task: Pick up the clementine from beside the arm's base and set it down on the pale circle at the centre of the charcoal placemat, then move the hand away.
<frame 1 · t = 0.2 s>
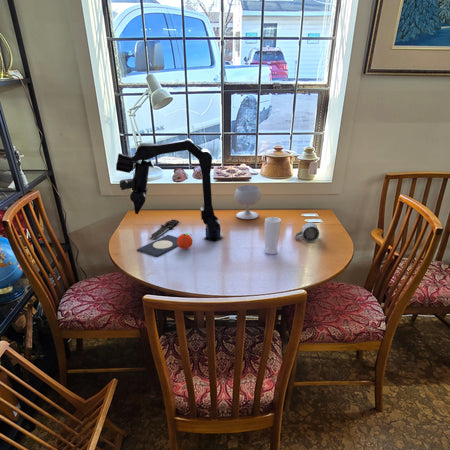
hand: (137, 210, 165), 15 cm above the table, tool pointing down, fingers open, 9 cm apart
clementine: (186, 248, 167), on the table
placemat: (162, 245, 169), on the table
drinking glass: (270, 252, 163), on the table
ceramic mug: (306, 239, 174), on the table
chalice: (247, 216, 201), on the table
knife: (164, 230, 184), on the table
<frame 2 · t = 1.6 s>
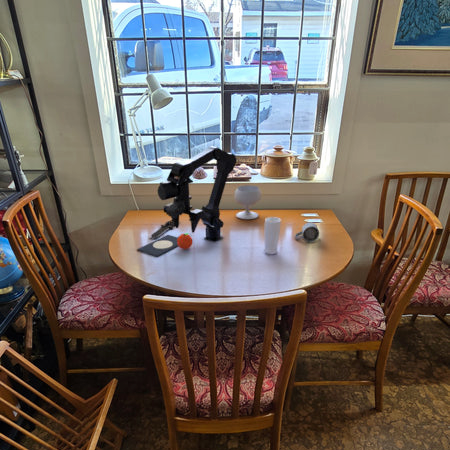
hand: (185, 230, 162), 9 cm above the table, tool pointing down, fingers open, 9 cm apart
nothing on the table moved.
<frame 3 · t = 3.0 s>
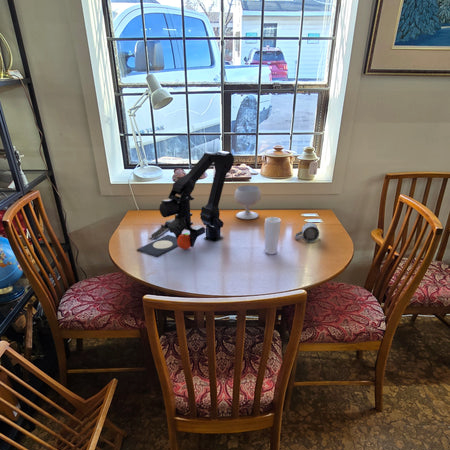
hand: (185, 245, 166), 1 cm above the table, tool pointing down, fingers closed on clementine, 7 cm apart
clementine: (186, 248, 167), on the table, touching gripper
everything else where it was.
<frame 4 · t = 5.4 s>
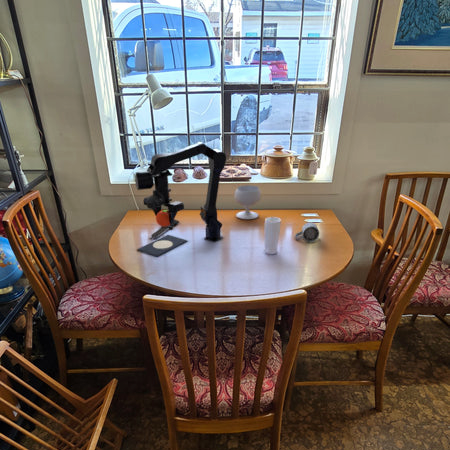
hand: (165, 222, 162), 11 cm above the table, tool pointing down, fingers closed on clementine, 7 cm apart
clementine: (165, 226, 163), point 10 cm above the table, touching gripper
everything else where it was.
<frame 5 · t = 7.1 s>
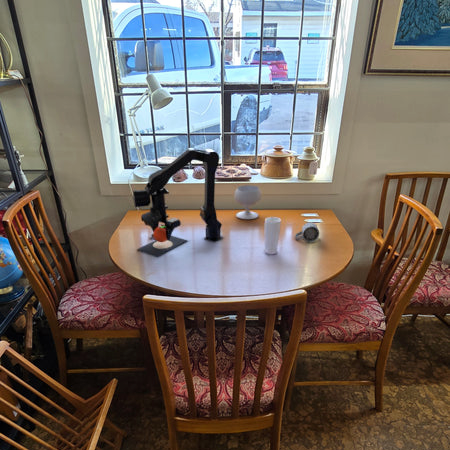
hand: (162, 238, 167), 4 cm above the table, tool pointing down, fingers closed on clementine, 7 cm apart
clementine: (162, 241, 168), point 2 cm above the table, touching gripper
everything else where it was.
when the fingers open (2 cm above the table, at t = 8.2 s): clementine stays where it is, resting on placemat.
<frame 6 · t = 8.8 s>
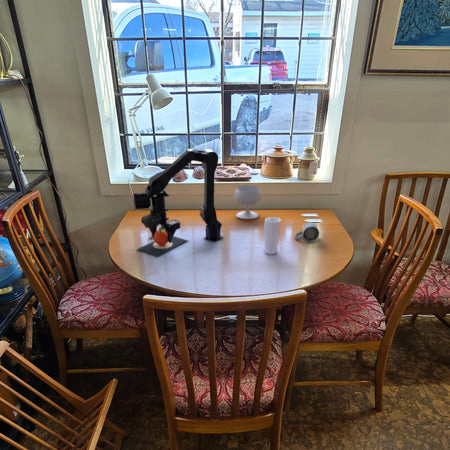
hand: (162, 240, 167), 3 cm above the table, tool pointing down, fingers open, 9 cm apart
clementine: (163, 244, 169), resting on placemat
everything else where it was.
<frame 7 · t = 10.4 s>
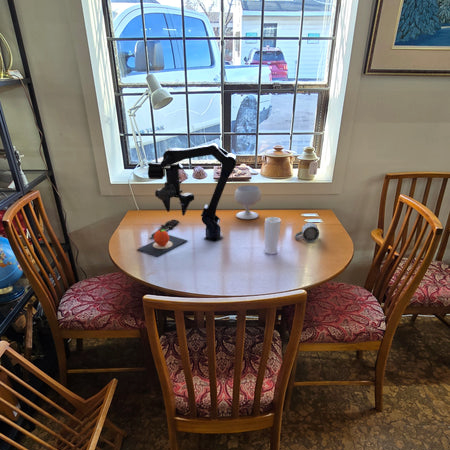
hand: (175, 213, 171), 12 cm above the table, tool pointing down, fingers open, 9 cm apart
nothing on the table moved.
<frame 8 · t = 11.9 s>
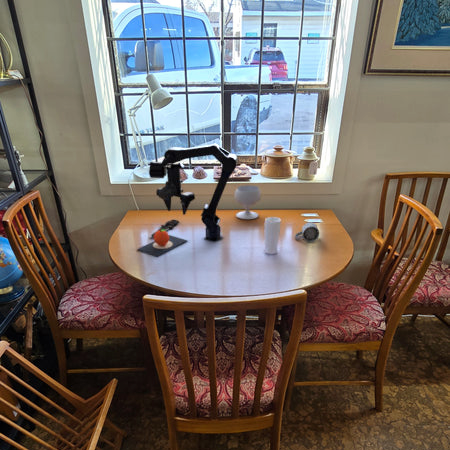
hand: (176, 212, 171), 12 cm above the table, tool pointing down, fingers open, 9 cm apart
nothing on the table moved.
at the end: clementine inside the target area on the placemat (0.2 cm from its centre), point 0.5 cm above the placemat's base; the gripper is holding nothing; clementine touching placemat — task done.
